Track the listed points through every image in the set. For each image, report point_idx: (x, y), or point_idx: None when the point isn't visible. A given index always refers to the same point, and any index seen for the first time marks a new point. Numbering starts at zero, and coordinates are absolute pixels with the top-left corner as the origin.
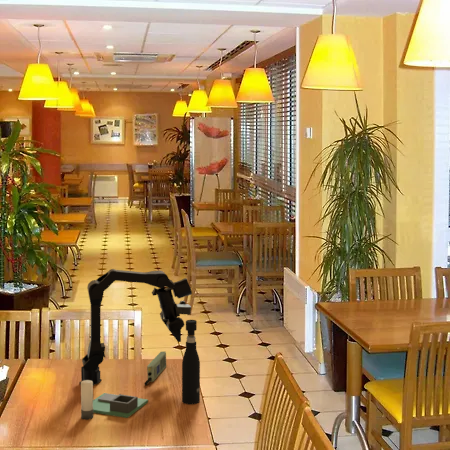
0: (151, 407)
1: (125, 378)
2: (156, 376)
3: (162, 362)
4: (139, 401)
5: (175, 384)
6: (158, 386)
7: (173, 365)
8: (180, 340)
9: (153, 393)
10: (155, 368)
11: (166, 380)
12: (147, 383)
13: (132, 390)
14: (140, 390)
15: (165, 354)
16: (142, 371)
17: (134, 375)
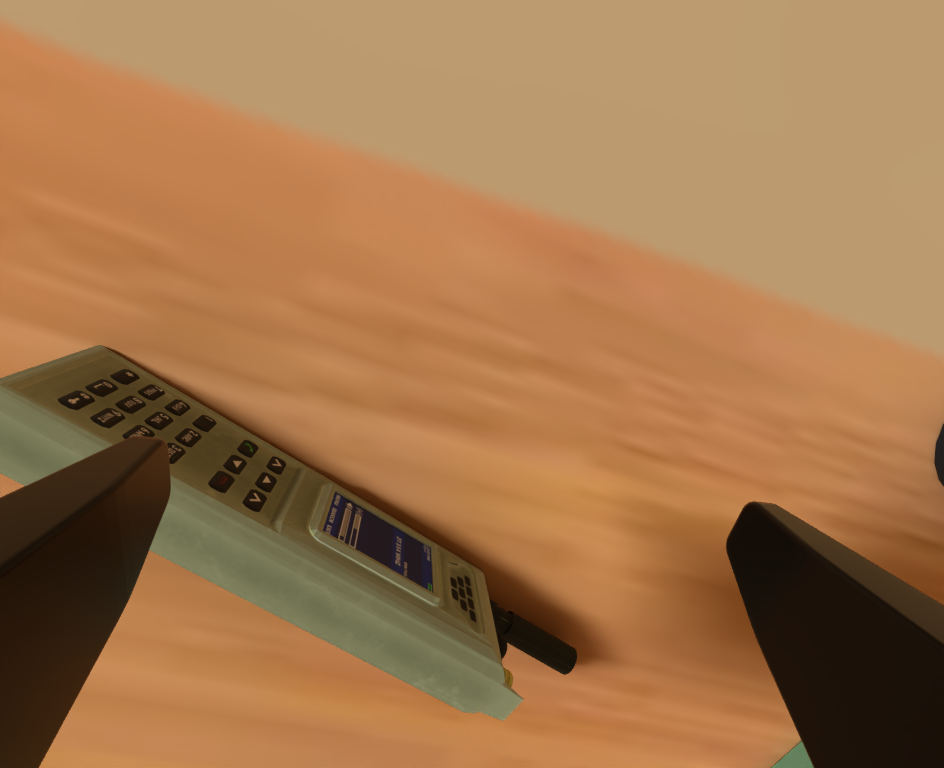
0: None
1: (327, 747)
2: (432, 544)
3: (202, 452)
4: None
5: (626, 430)
6: (608, 565)
7: (82, 261)
8: (794, 527)
9: (725, 632)
10: (451, 603)
11: (503, 468)
12: (576, 653)
13: (603, 745)
14: (628, 698)
15: (32, 392)
16: (188, 593)
17: (277, 673)
